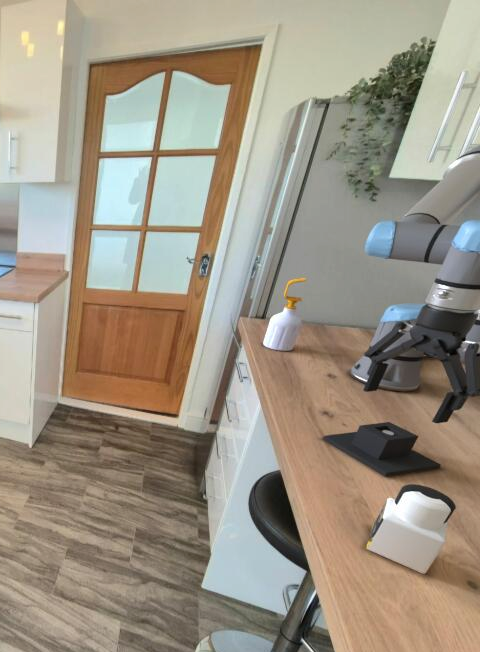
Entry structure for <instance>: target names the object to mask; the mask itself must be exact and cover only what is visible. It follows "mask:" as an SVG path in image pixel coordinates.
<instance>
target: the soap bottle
mask: <svg viewBox="0 0 480 652" xmlns="http://www.w3.org/2000/svg"><path fill="white" fill-rule="evenodd" d="M306 281H307V278H306V277H300V278H294V279H291V280H289V281H288V282H287V283H286V286H285V289H284V292H283V297H284V299H285V300H286V301H287V302H288V304H286V305H284V308H283V310H282V311H281V312H278V313H275V314H274V315H272V316H271V318H270V320H269V323H268V325H267V330H266V332H265V335H264V338H263V342H262V345H263V346H264V347H266V348H268V349H271V350H274V351H279V352H290V351H293V350H294V347H295V344H296V341H297V338H298V335H299V332H300V329H301V327H302V324H303V322H302V319H301V318H300V316H298V315H297V314H296V311H297V306H295V304H297V303H298V302H303V299H302V297H297V296H289V295H287V293H288V291H289V288H290V286H291V285H292V284H296V283H302V282H306Z"/></svg>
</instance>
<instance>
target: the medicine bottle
mask: <svg viewBox="0 0 480 652" xmlns="http://www.w3.org/2000/svg"><path fill="white" fill-rule="evenodd" d="M456 508H457V506H456V504H455V502H454V501H453V499H452V498H451V497H449V496H448V495H446V494H445V493H443V492H441V491H439V490H437V489H435V488H432V487H429V486H426V485H422V484H416V483H410V484H404V485H403V486H401V488H400V490H399V492H398V494H397V495H396V497H395V498H392V497H388V498H387V499H386V501H385V503H384V505H383V507H382V508H381V510H380V512H379V514H378V516H377V518H376V519H375V521H374V523H373V524H372V527H371V530H370V534H369V537H368V540H367V544H366V549H367V550H368V551H370V552H372V553H375V554H377V555H379V556H382V557H383V558H386V559H388V560H390V561H392V562H395V563H396V564H400V565H401V566H404V567H407V568H409V569H411V570H412V571H415V572H418V573H420V574H422V575H423V574H424V575H425V574H426V573H427V572H428V570H429V569H430V568H431V566H432V565H433V563H434V562H435V560H436V558H437V556H438V555H439V554H440V552H441V550H442V549H443V547H444V546H445V544H446V543H447V532H448V522H449V519H450V518H451V516H452V515H453V513H454V512H455V510H456Z"/></svg>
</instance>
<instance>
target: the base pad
mask: <svg viewBox="0 0 480 652" xmlns="http://www.w3.org/2000/svg"><path fill="white" fill-rule="evenodd" d="M382 432H384V433H386V434H388V435H390V436H394V433H393V432H391V431H388V430H382ZM356 433H357V431H352V432H344V433H343V432H342V433H336V434H328V435H324V436H323V438H322V440H323V441H325V442H327V443H328V444H330V445H331V446H333V447H335V448H336V449H338V450H340V451H341V452H342V453H343V452H344V453H345V454H347V455H348V456H350V457H352V458H353V459H355V460H356V461H358V462H360V463H362V464H363V465H365V466H366V467H368V468H370V469H372V470H373V471H375V472H376V473H378V474H380V475H382V476H383V477H392V476H398V475H405V474H410V473H417V472H424V471H430V470H437V469H440V468H441V466H442V464H441V463H439V462H437V461H435V460H433V459H431V458H430V457H427V456H426V455H424V454H421V453H420V452H418V451H416V450H415V449H413V448H412V449H411V451H410V453H409V455H407V456H400V457H393V458H386V459H379V460H378V459H376V458H374V457H373V456H371V455H369V454H367V453H366V452H364V451H362V450H360V449H359V448H357V447H355V446H353V445H352V444H351V443H352V441H353V439H354V437H355V435H356Z"/></svg>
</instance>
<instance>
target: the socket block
mask: <svg viewBox="0 0 480 652" xmlns="http://www.w3.org/2000/svg"><path fill="white" fill-rule="evenodd" d="M382 430H388V431H391V432H393V433H394V436H390V435H388V434H386V433H384V432H382ZM356 432H357V433H356V435H355V437H354V439H353V441H352V443H351V444H352V445H353V446H355V447H357V448H359V449H360V450H362V451H364V452H366V453H367V454H369V455H371V456H373V457H374V458H376V459H378V460H379V459H386V458H393V457H400V456H407V455H409V453H410V451H411V449H412V450H413V447H414V446H415V444H416V442H417V440H418V438H419V435H416V434H415V433H413V432H411V431H409V430H407V429H405V428H403V427H401V426H399V425H397V424H394V423H392V422H390V421H385V422H377V423H369V424H362V425H358V428H357V431H356Z"/></svg>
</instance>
